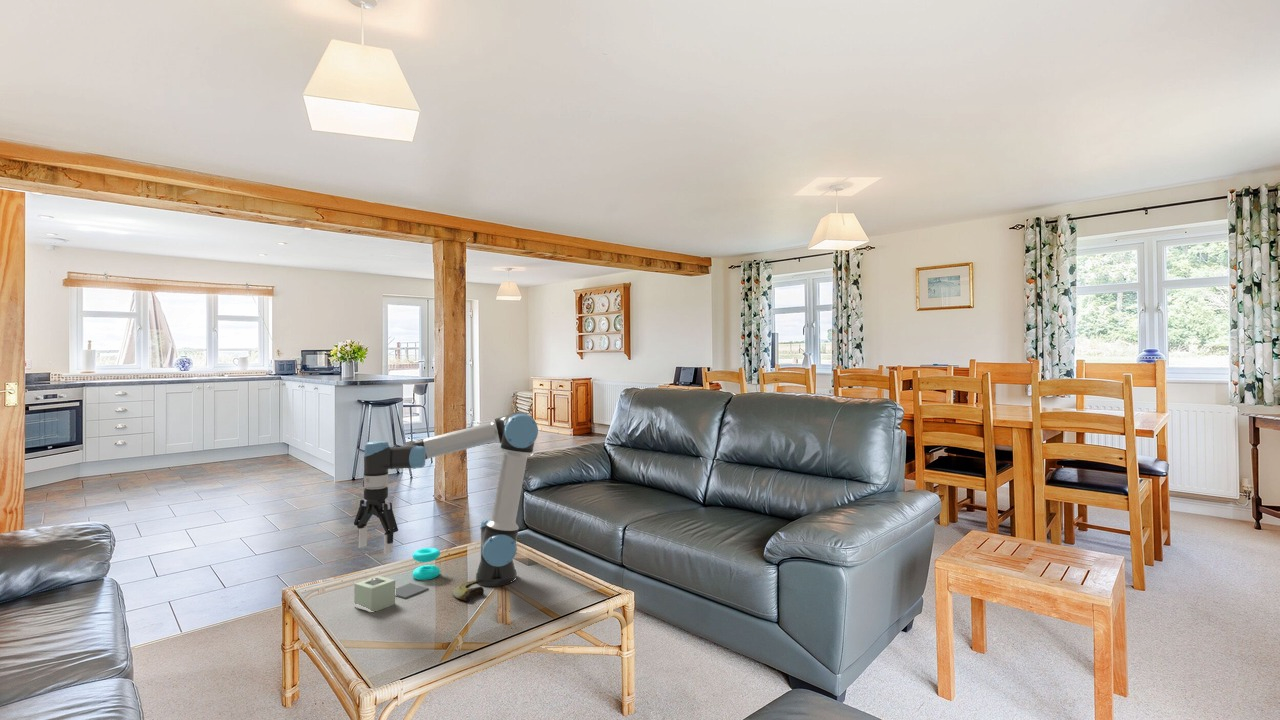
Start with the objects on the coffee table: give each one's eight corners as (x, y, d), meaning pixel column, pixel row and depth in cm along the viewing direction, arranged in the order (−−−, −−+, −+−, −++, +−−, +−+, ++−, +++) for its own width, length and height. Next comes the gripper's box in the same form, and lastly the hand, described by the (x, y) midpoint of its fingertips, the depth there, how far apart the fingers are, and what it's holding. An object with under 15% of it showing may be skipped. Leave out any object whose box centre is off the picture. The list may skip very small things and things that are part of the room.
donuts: (443, 551, 225) (415, 556, 219) (442, 577, 224) (415, 583, 219) (436, 545, 233) (410, 549, 228) (436, 570, 233) (410, 575, 227)
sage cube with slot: (395, 603, 199) (395, 580, 199) (371, 613, 192) (371, 588, 192) (378, 598, 204) (378, 575, 204) (354, 607, 196) (354, 583, 196)
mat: (428, 589, 212) (428, 588, 212) (405, 599, 203) (405, 597, 203) (410, 584, 217) (410, 583, 217) (386, 593, 208) (386, 591, 208)
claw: (485, 601, 202) (485, 591, 203) (454, 605, 199) (454, 595, 199) (479, 583, 221) (479, 574, 221) (450, 587, 217) (450, 577, 217)
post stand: (382, 604, 198) (383, 578, 199) (373, 608, 195) (373, 581, 195) (376, 602, 200) (376, 576, 200) (366, 606, 197) (366, 579, 197)
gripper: (343, 485, 202) (342, 547, 201) (390, 492, 189) (389, 558, 189) (363, 481, 208) (362, 541, 208) (409, 488, 196) (409, 552, 195)
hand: (375, 549), depth 198 cm, fingers open, 13 cm apart
